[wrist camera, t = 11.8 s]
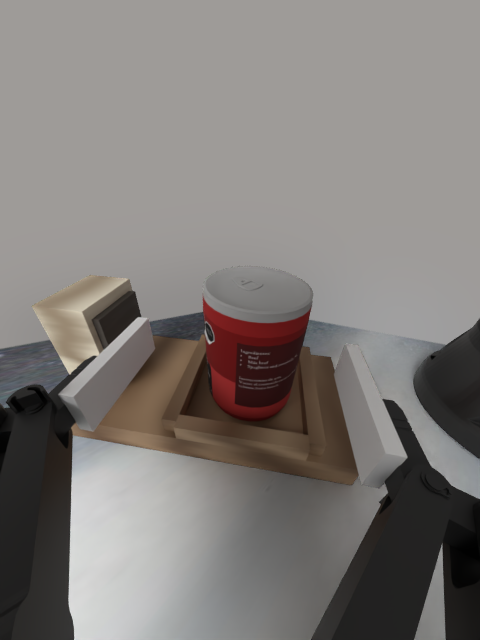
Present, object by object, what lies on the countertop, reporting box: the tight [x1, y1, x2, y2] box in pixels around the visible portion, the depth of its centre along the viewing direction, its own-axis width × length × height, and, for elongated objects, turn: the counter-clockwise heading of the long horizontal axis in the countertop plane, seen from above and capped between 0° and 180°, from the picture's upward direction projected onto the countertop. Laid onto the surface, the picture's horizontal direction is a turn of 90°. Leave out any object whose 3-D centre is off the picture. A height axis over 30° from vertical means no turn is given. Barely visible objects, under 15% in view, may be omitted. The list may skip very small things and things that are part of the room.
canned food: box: [203, 266, 313, 421], centre depth 19 cm, size 8×8×11 cm
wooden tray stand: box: [32, 275, 359, 485], centre depth 21 cm, size 26×12×12 cm, turn 81°
